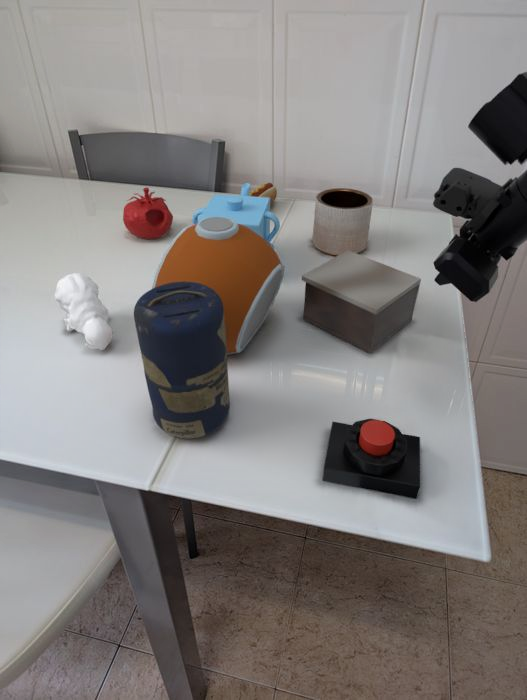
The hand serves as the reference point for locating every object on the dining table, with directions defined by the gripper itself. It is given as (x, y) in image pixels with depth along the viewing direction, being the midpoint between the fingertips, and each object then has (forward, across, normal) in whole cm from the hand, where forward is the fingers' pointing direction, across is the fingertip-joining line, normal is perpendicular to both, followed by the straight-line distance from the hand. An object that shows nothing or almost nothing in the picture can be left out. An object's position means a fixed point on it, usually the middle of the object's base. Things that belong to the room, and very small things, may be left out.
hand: (437, 281), depth 64 cm
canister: (+18, +29, -11) cm, 36 cm away
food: (+38, -28, -35) cm, 59 cm away
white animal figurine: (+31, +24, -31) cm, 50 cm away
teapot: (+31, -8, -27) cm, 42 cm away
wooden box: (+16, -2, -3) cm, 17 cm away
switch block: (+8, +23, +8) cm, 25 cm away
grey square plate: (+11, -2, -7) cm, 13 cm away
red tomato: (+42, -6, -46) cm, 62 cm away
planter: (+26, -24, -15) cm, 38 cm away
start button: (+4, +23, +6) cm, 24 cm away
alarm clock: (+24, +12, -18) cm, 32 cm away
